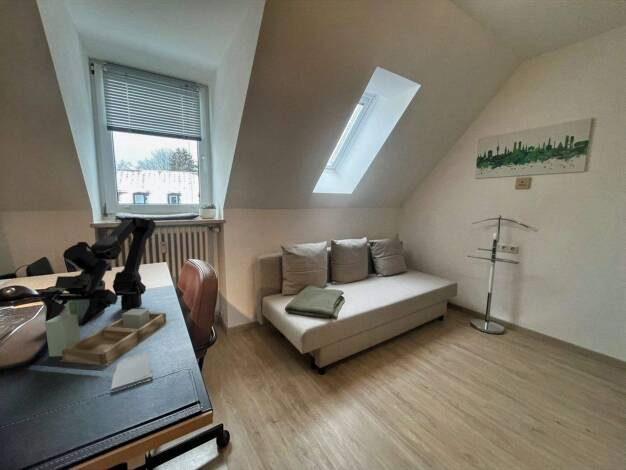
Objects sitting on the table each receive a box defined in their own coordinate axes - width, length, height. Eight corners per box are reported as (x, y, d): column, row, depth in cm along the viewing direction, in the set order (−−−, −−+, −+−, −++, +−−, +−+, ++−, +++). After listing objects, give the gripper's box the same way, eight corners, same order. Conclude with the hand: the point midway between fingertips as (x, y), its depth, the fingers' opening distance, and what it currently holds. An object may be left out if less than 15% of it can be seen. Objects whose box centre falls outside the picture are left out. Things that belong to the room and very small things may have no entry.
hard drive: (152, 376, 62) (151, 350, 72) (110, 389, 57) (115, 360, 67) (153, 382, 62) (151, 355, 72) (110, 396, 57) (115, 365, 68)
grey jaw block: (133, 325, 86) (132, 308, 85) (150, 326, 86) (148, 309, 85) (124, 331, 82) (122, 313, 81) (140, 332, 82) (139, 315, 81)
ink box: (46, 330, 84) (41, 292, 82) (54, 324, 88) (50, 287, 86) (71, 327, 86) (66, 290, 84) (78, 322, 90) (74, 286, 88)
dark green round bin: (78, 310, 99) (75, 281, 97) (111, 306, 103) (108, 278, 102) (68, 321, 90) (64, 289, 88) (104, 316, 94) (101, 285, 93)
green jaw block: (64, 350, 73) (60, 314, 72) (81, 349, 74) (76, 314, 72) (50, 359, 69) (44, 322, 67) (67, 359, 69) (62, 321, 68)
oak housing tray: (132, 321, 91) (131, 311, 90) (168, 324, 89) (168, 313, 89) (60, 364, 67) (58, 350, 66) (107, 368, 66) (106, 354, 65)
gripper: (39, 263, 73) (2, 316, 63) (107, 263, 75) (81, 315, 65) (66, 281, 82) (37, 330, 72) (127, 280, 83) (106, 328, 74)
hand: (64, 325), depth 71 cm, fingers open, 9 cm apart
